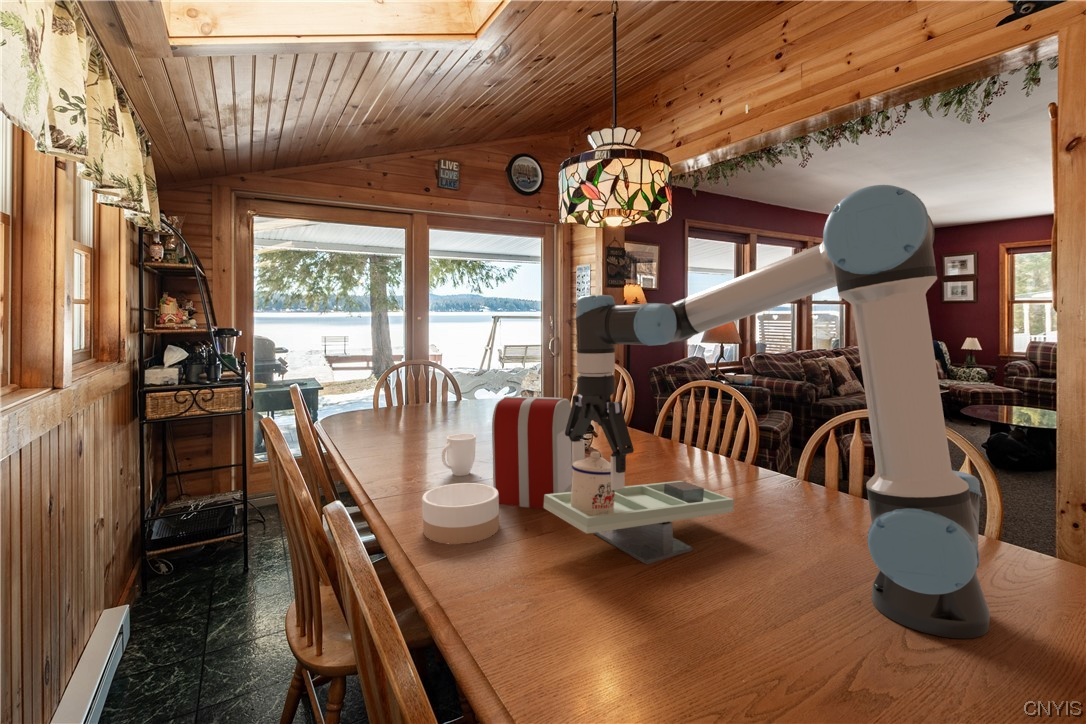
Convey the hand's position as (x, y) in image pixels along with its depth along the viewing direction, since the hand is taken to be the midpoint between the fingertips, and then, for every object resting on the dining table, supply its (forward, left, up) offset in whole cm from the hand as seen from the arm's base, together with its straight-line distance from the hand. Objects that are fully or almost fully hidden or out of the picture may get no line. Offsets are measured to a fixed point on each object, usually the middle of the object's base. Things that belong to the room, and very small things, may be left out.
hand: (597, 479), depth 108 cm
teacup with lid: (0, 0, -6) cm, 6 cm away
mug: (+69, +4, -15) cm, 71 cm away
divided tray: (0, -11, -8) cm, 13 cm away
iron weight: (0, -23, -8) cm, 25 cm away
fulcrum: (0, -11, -15) cm, 19 cm away
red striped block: (+38, -6, -16) cm, 41 cm away
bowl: (+27, +19, -16) cm, 37 cm away
